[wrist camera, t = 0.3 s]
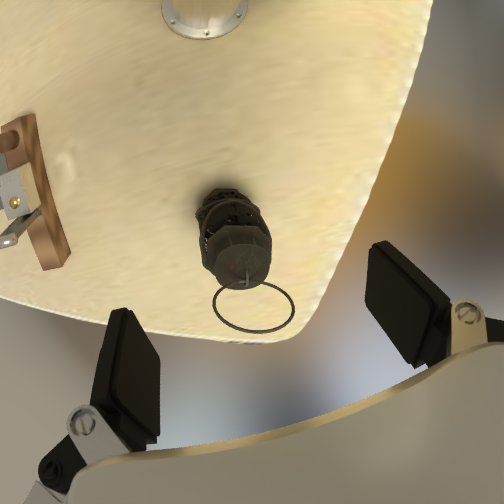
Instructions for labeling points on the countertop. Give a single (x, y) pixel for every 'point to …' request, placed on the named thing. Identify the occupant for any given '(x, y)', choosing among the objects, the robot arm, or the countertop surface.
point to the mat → (3, 171)
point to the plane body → (47, 223)
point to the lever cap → (19, 191)
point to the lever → (17, 229)
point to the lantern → (235, 246)
